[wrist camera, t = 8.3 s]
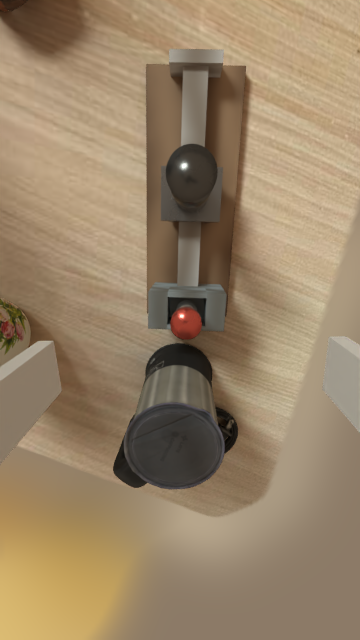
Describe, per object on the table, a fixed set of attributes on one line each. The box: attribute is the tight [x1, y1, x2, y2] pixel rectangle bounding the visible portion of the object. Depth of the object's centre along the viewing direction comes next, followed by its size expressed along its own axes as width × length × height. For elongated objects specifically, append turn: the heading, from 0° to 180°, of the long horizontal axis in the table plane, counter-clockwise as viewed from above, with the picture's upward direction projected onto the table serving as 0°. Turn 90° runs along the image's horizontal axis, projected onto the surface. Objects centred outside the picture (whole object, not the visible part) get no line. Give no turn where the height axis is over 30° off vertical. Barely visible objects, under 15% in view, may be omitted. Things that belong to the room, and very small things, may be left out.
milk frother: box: [113, 343, 238, 489], centre depth 33 cm, size 14×16×15 cm
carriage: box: [161, 144, 223, 223], centre depth 25 cm, size 6×5×14 cm
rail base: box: [146, 49, 246, 331], centre depth 30 cm, size 10×26×7 cm, turn 178°
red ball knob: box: [170, 300, 202, 339], centre depth 28 cm, size 3×3×5 cm
